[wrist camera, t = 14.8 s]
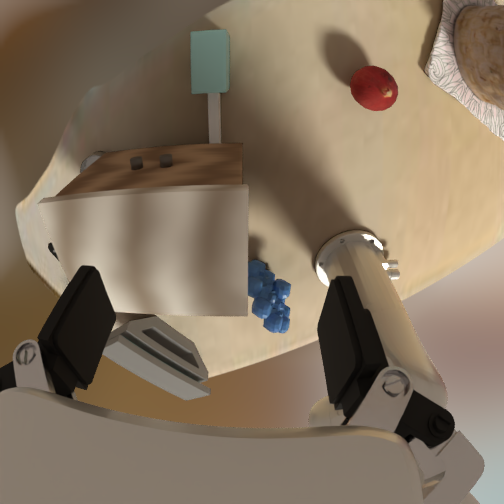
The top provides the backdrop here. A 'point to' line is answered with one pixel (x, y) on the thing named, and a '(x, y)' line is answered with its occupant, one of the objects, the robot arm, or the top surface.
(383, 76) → the onion
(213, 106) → the sage green block
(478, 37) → the cookie jar
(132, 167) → the cabinet
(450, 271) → the top surface
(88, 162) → the grey flat rounded lump
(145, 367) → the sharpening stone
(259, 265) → the grapes
